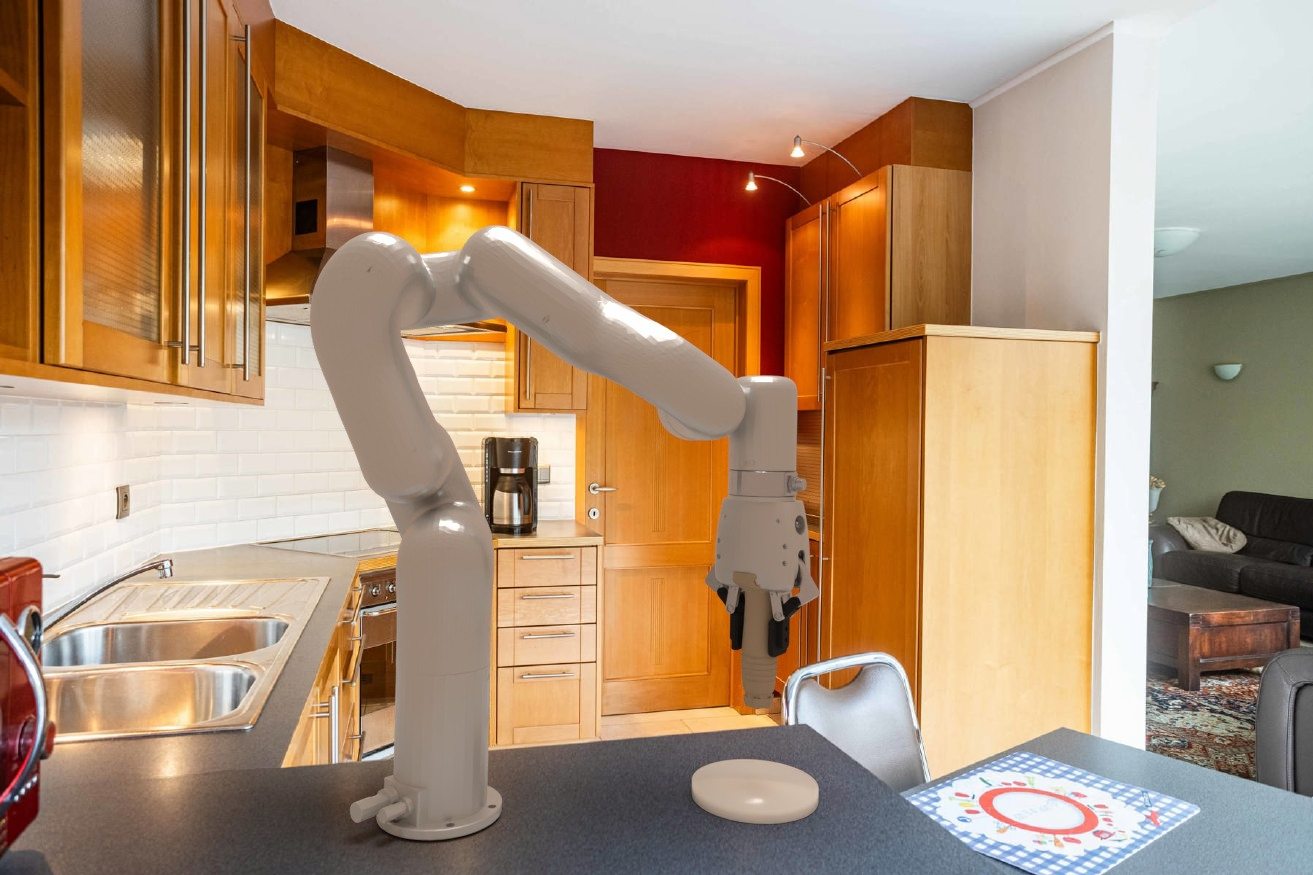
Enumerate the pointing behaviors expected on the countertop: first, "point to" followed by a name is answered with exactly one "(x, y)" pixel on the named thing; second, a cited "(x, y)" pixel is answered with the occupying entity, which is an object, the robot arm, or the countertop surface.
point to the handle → (756, 644)
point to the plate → (755, 791)
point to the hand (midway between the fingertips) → (758, 649)
